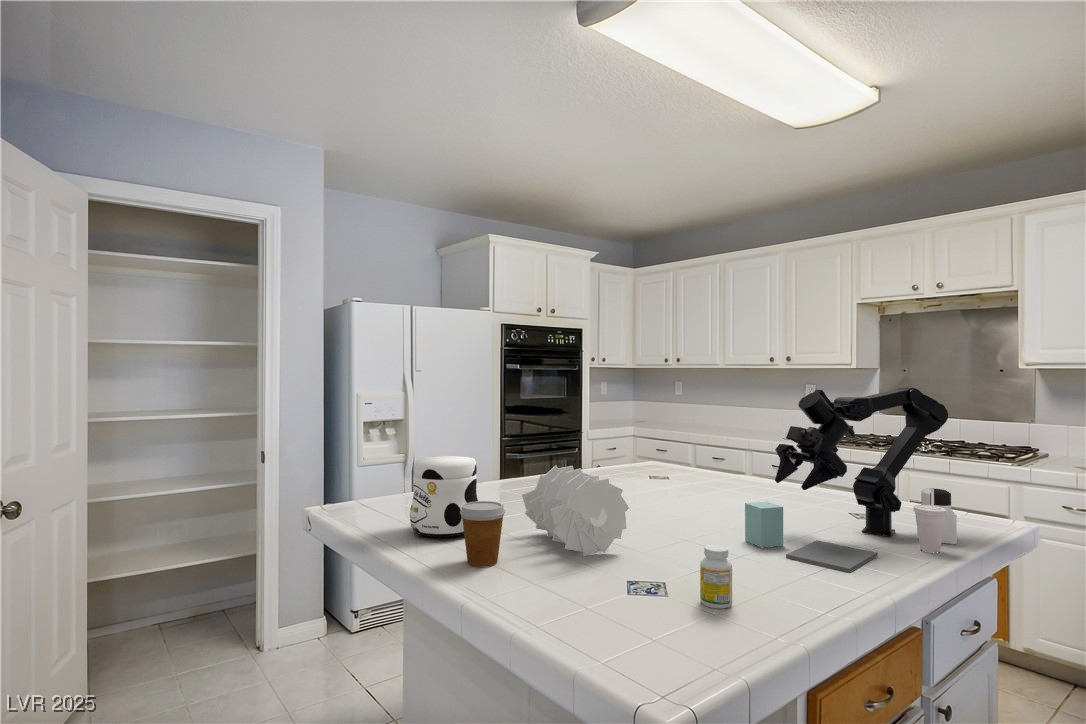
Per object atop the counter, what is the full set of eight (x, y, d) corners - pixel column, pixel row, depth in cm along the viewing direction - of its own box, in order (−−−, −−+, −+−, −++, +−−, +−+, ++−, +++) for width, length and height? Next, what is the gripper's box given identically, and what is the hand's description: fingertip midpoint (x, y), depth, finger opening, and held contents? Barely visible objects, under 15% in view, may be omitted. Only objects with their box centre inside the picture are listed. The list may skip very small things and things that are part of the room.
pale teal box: (766, 539, 145) (766, 501, 145) (783, 545, 139) (783, 506, 139) (745, 541, 143) (745, 503, 143) (761, 548, 137) (761, 508, 137)
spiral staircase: (568, 546, 152) (618, 571, 129) (508, 521, 146) (549, 543, 123) (594, 478, 156) (647, 491, 133) (537, 451, 151) (582, 460, 128)
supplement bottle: (724, 612, 101) (724, 554, 101) (694, 604, 104) (694, 548, 104) (737, 602, 105) (737, 547, 105) (708, 595, 108) (708, 541, 108)
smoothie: (952, 556, 132) (952, 492, 132) (920, 554, 133) (919, 490, 133) (939, 547, 138) (939, 486, 138) (908, 545, 139) (908, 485, 139)
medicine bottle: (951, 537, 146) (950, 488, 147) (957, 545, 140) (956, 493, 140) (916, 534, 149) (916, 485, 150) (921, 541, 143) (920, 490, 143)
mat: (817, 543, 141) (817, 540, 141) (877, 556, 131) (877, 552, 131) (786, 557, 130) (786, 554, 130) (849, 572, 120) (849, 568, 120)
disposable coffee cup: (469, 572, 120) (469, 512, 120) (453, 559, 128) (453, 503, 128) (512, 565, 124) (512, 507, 124) (494, 553, 133) (494, 498, 133)
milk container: (395, 537, 145) (395, 462, 145) (434, 521, 161) (434, 453, 161) (457, 545, 139) (458, 467, 139) (491, 527, 155) (492, 457, 155)
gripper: (781, 412, 154) (744, 456, 150) (836, 417, 136) (796, 468, 133) (806, 441, 156) (771, 486, 153) (864, 451, 138) (825, 502, 135)
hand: (789, 485), depth 143 cm, fingers open, 9 cm apart
